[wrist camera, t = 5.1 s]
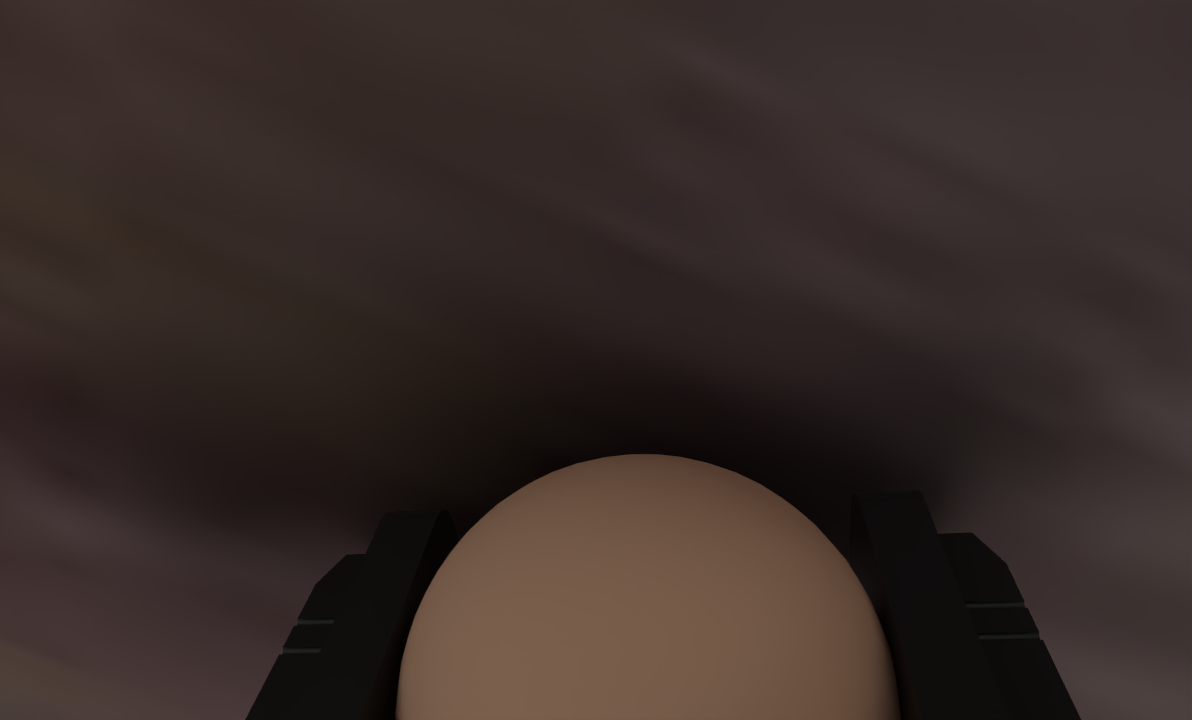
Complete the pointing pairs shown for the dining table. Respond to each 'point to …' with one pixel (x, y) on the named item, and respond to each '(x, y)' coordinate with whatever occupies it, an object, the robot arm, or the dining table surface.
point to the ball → (646, 607)
